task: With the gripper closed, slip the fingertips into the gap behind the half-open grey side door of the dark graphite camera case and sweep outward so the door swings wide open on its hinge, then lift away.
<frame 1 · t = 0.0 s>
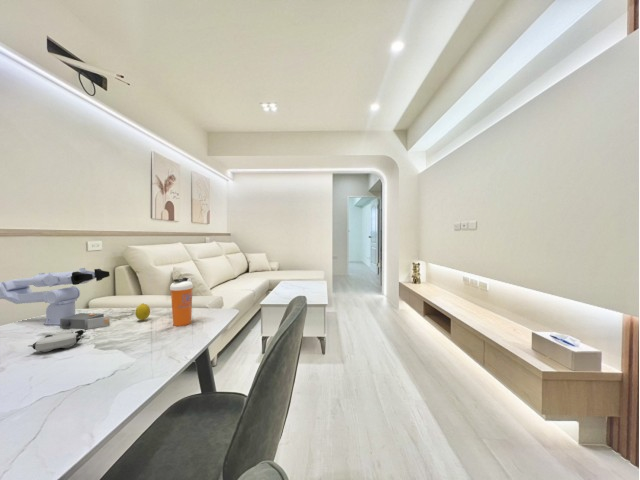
hand: (100, 275, 111), 22 cm above the table, tool horizontal, fingers open, 7 cm apart
shaker bottle: (182, 323, 111), on the table
case: (82, 325, 109), on the table
robot toy: (60, 346, 89), on the table
door: (97, 322, 106), point 2 cm above the table, hinge at 50.0°
lemon: (143, 321, 115), on the table
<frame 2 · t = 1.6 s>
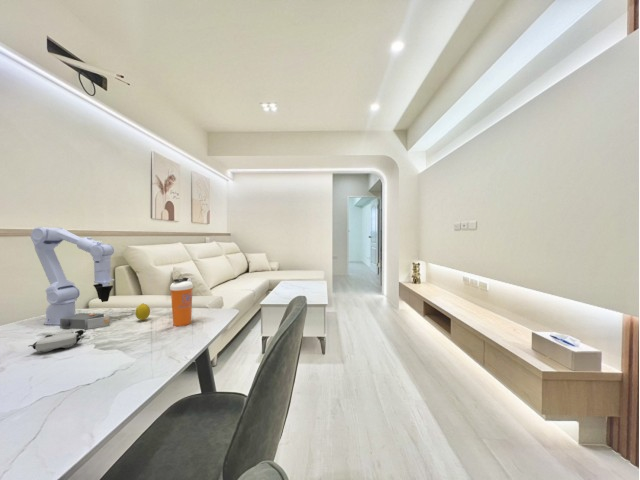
hand: (103, 300, 114), 10 cm above the table, tool pointing down, fingers open, 7 cm apart
nothing on the table moved.
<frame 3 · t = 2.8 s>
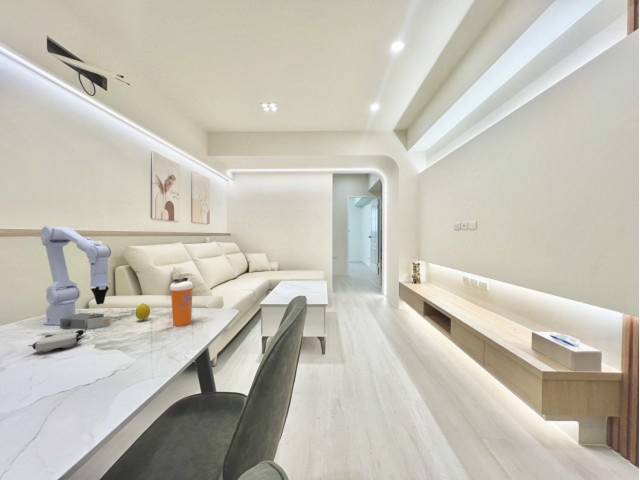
hand: (100, 303, 109), 10 cm above the table, tool pointing down, fingers closed
nothing on the table moved.
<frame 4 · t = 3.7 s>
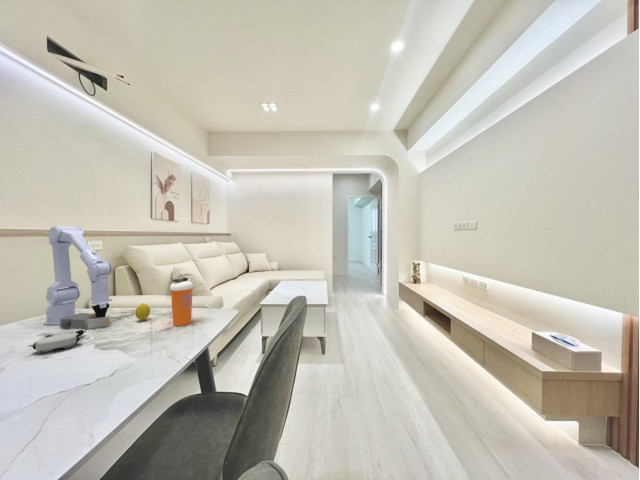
hand: (100, 321, 108), 2 cm above the table, tool pointing down, fingers closed, pressing on door
door: (97, 322, 106), point 2 cm above the table, hinge at 50.0°, touching gripper
everything else where it was.
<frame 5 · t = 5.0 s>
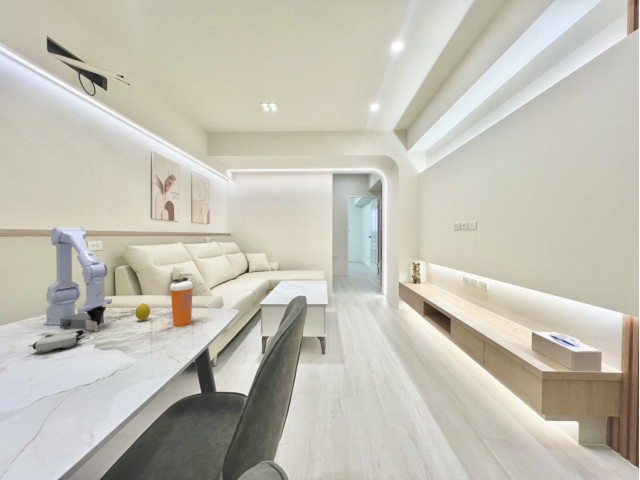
hand: (96, 325, 104), 2 cm above the table, tool pointing down, fingers closed, pressing on door
door: (90, 325, 103), point 2 cm above the table, hinge at 107.9°, touching gripper
everything else where it was.
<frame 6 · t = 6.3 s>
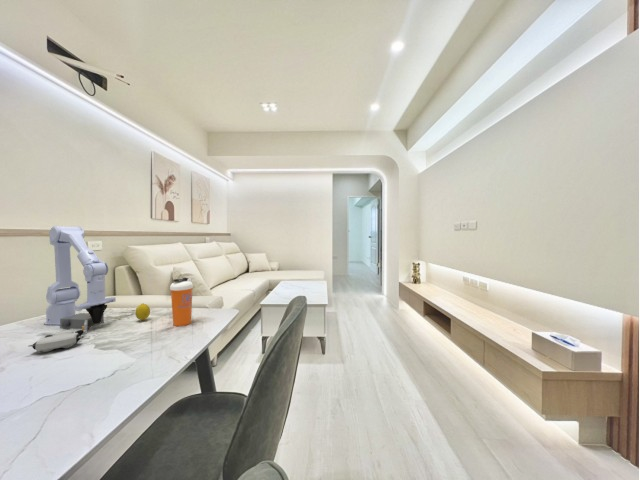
hand: (96, 322, 106), 2 cm above the table, tool pointing down, fingers closed
door: (85, 326, 102), point 2 cm above the table, hinge at 132.9°
everything else where it was.
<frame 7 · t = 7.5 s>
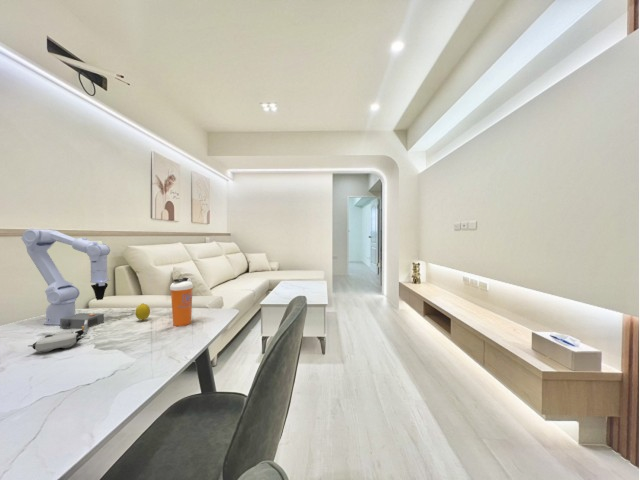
hand: (99, 299, 115), 10 cm above the table, tool pointing down, fingers closed
nothing on the table moved.
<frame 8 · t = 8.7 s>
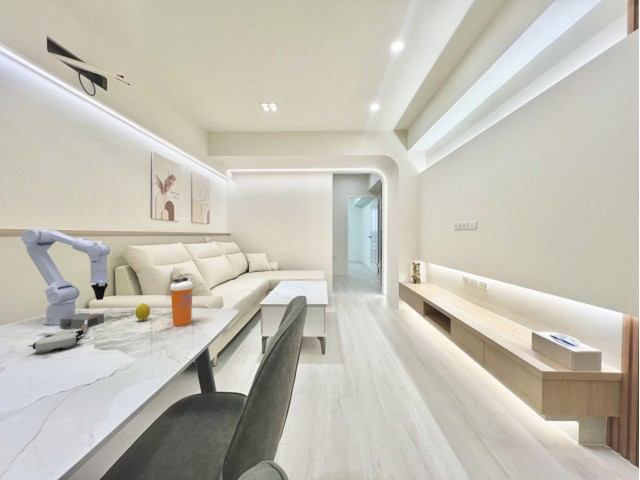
hand: (99, 299, 115), 10 cm above the table, tool pointing down, fingers closed
nothing on the table moved.
at the end: door at +133° (first picture: +50°); the gripper is holding nothing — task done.
